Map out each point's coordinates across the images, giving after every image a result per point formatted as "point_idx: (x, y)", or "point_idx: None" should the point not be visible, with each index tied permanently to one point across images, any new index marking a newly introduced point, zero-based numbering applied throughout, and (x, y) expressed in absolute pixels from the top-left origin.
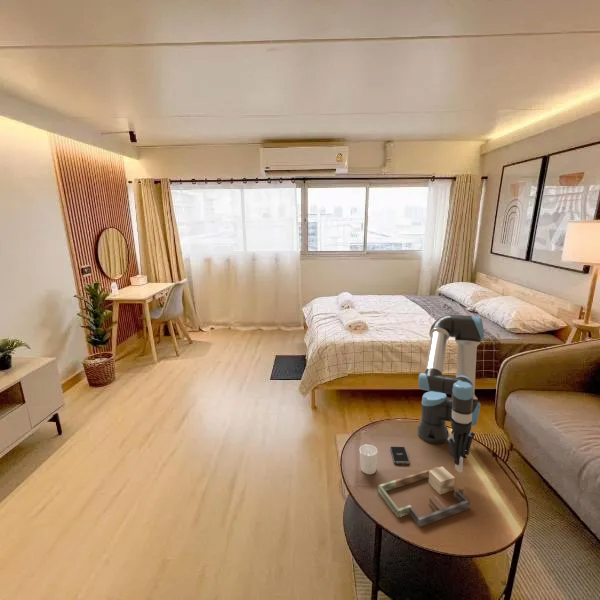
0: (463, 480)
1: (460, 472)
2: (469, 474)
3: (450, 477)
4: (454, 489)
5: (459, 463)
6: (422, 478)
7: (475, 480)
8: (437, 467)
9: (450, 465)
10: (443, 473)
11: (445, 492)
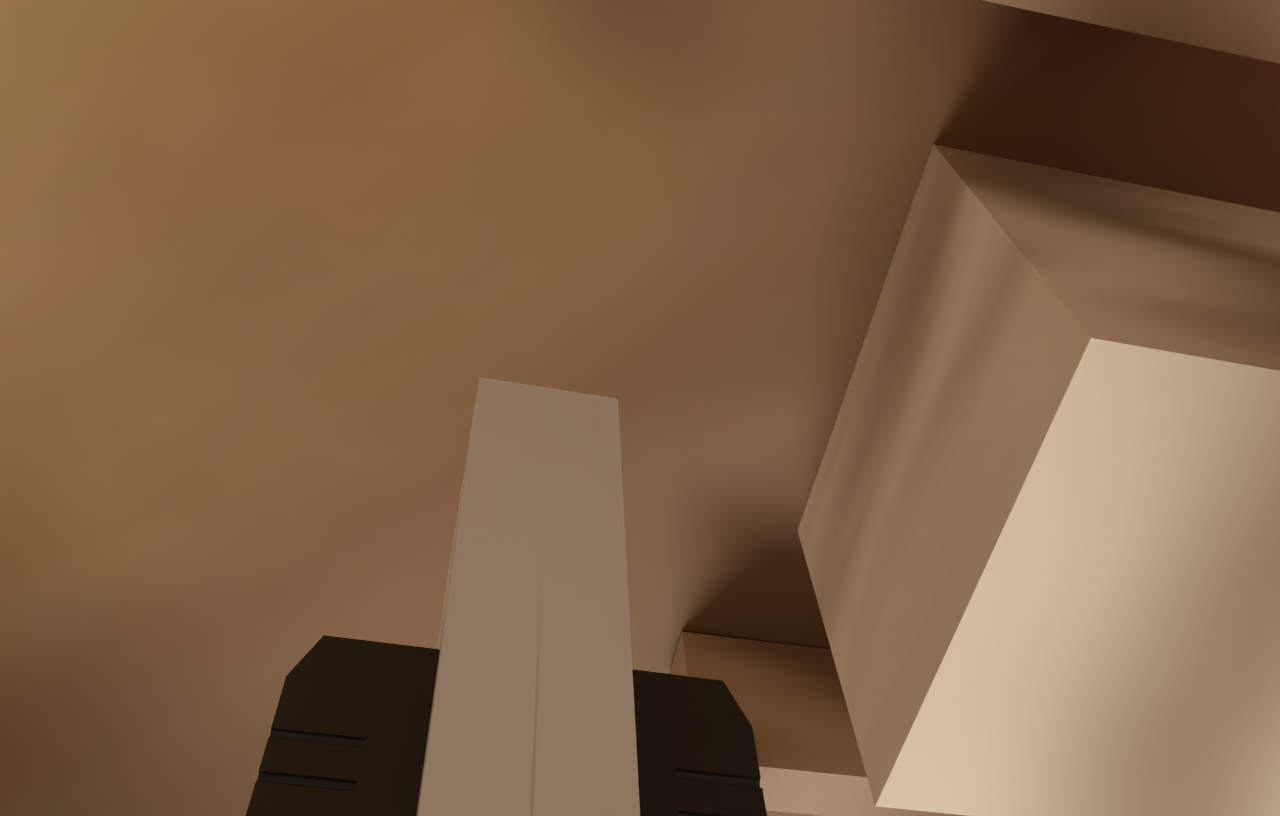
0: (380, 226)
1: (582, 397)
2: (14, 283)
3: (1204, 410)
4: (1269, 55)
5: (625, 716)
6: None
7: (33, 38)
8: (769, 790)
9: (238, 682)
10: (1170, 624)
11: (1205, 201)
